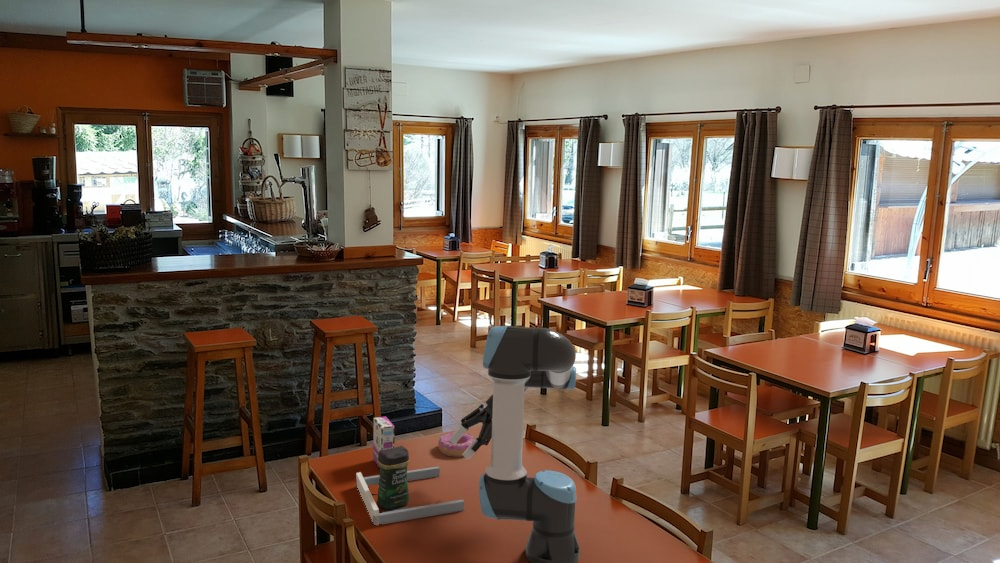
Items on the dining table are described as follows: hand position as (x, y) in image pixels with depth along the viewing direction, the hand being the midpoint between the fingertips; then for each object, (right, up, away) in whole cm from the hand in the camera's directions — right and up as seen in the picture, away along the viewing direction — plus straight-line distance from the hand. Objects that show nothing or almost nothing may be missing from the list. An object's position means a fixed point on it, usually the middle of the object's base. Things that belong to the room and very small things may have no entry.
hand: (457, 449), depth 239 cm
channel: (-16, -15, -4) cm, 22 cm away
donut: (-2, -9, +34) cm, 36 cm away
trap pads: (-21, -15, -6) cm, 27 cm away
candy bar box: (-28, -10, +20) cm, 35 cm away
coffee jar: (-20, -16, -8) cm, 27 cm away
